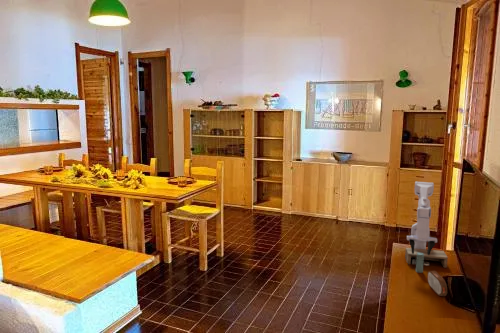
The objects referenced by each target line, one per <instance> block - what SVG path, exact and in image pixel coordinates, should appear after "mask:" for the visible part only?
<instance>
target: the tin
mask: <svg viewBox="0 0 500 333" xmlns="http://www.w3.org/2000/svg"><path fill="white" fill-rule="evenodd" d="M427 282H428V285H429V287H430V288H431V289H432V290H433V291H434V293H435V294H436V295H437V296H440V297H446V296H447V294H448V287H447V286H448V284H447V283H446V280H445V279H444V278H443V277H442V276H441V275H440V274H439V273H438V272H437V271H436V270H429V271H427Z"/></svg>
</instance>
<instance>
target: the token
mask: <svg viewBox="0 0 500 333" xmlns="http://www.w3.org/2000/svg"><path fill="white" fill-rule="evenodd" d="M430 265H431V262H428V261H427V260H424V263H423V266H428V267H429V266H430Z"/></svg>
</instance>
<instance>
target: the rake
mask: <svg viewBox="0 0 500 333" xmlns="http://www.w3.org/2000/svg"><path fill="white" fill-rule="evenodd" d="M424 261H425V260H424V254H423V253H418V252H417V258H416V259H411V265H415V272H416V273H420V274H422V273H423V272H424V265H423V263H424Z"/></svg>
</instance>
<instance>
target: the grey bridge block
mask: <svg viewBox="0 0 500 333" xmlns="http://www.w3.org/2000/svg"><path fill="white" fill-rule="evenodd" d="M427 250H428V248H427V249H415V248H414V254H412V249H411V247H405V252H404V253H405V255H404V258H405V261H406V263H408V264H407V265H412V259H411V258H415V259H416V258H417V252H418V253H423V254H424V261H433V262H440V263H441V265H442V268H444V269H445V268H446V269H447V268H448V258H449V257H448V255H447V254H446V252H445V251H444V250H437V249H436V250H435V249H432V250H431V252H430V255H428V254H427Z"/></svg>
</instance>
